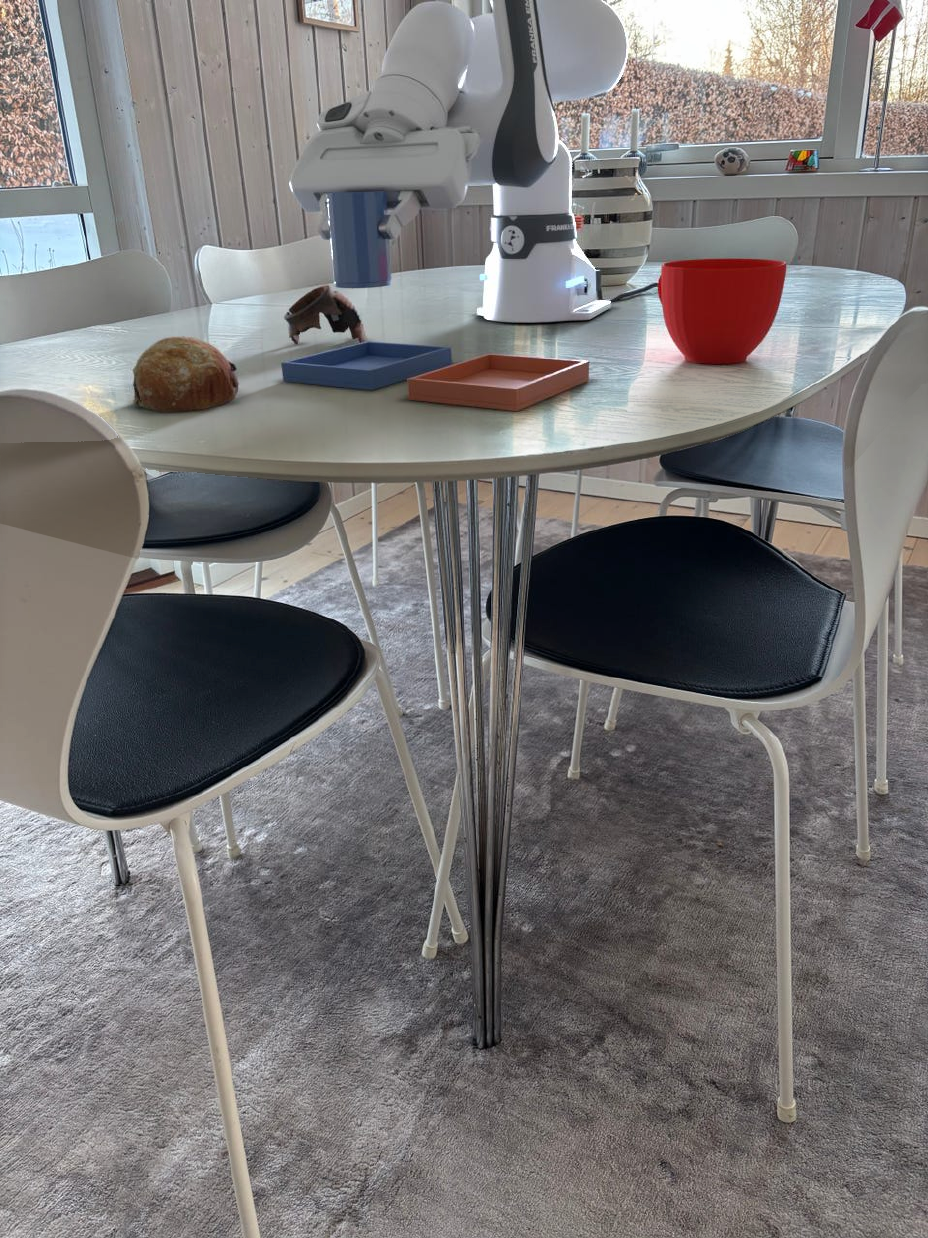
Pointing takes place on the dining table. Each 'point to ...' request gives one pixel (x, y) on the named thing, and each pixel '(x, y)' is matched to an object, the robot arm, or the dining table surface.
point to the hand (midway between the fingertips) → (355, 235)
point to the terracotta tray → (499, 381)
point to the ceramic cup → (720, 306)
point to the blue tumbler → (358, 239)
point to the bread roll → (183, 376)
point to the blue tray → (366, 365)
